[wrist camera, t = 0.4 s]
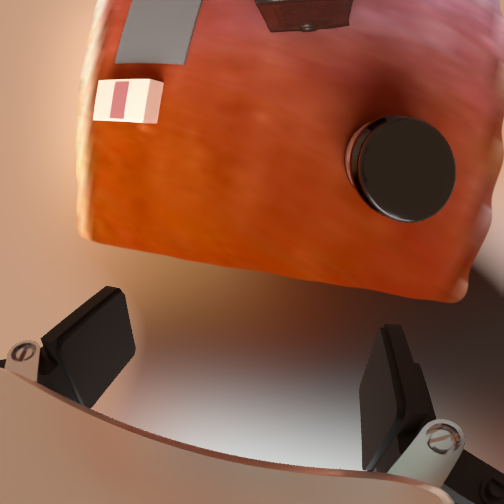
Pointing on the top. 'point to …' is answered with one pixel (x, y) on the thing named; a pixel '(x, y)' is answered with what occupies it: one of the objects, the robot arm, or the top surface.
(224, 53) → the top surface
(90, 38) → the top surface
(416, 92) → the top surface
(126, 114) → the card box
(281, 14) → the vintage coffee grinder
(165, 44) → the mat
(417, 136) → the supplement container
